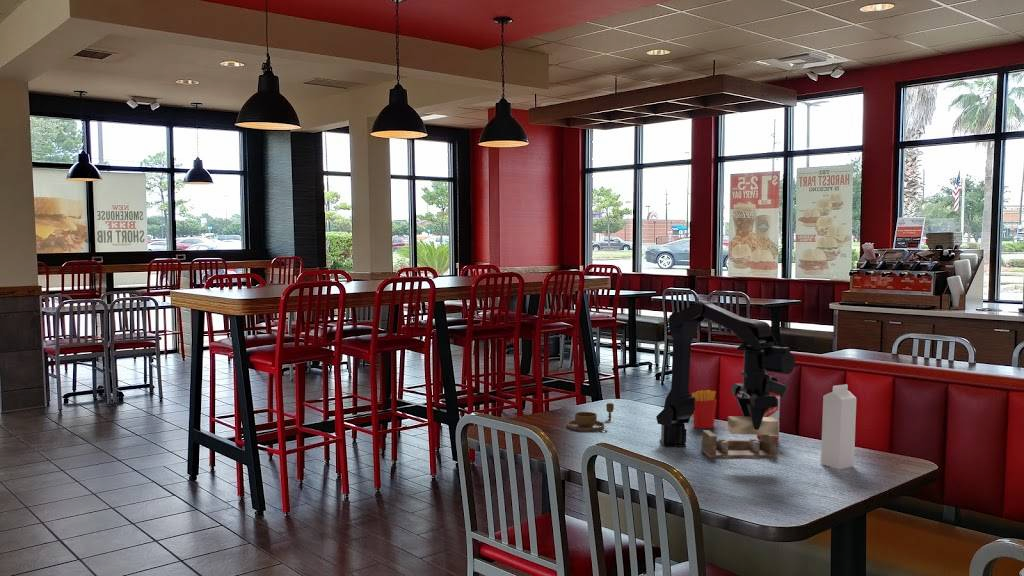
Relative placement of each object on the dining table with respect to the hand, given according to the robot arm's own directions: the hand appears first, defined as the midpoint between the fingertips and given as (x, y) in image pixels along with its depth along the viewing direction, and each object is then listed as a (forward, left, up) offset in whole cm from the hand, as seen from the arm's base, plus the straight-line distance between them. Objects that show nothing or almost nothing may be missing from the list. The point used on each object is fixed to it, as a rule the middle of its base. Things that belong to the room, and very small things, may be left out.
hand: (752, 427), depth 212 cm
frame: (+1, +13, -11) cm, 17 cm away
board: (0, 0, -1) cm, 1 cm away
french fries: (+1, +46, -11) cm, 47 cm away
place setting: (-34, +47, -12) cm, 59 cm away
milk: (+24, +1, -11) cm, 26 cm away
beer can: (+15, +27, -11) cm, 33 cm away
